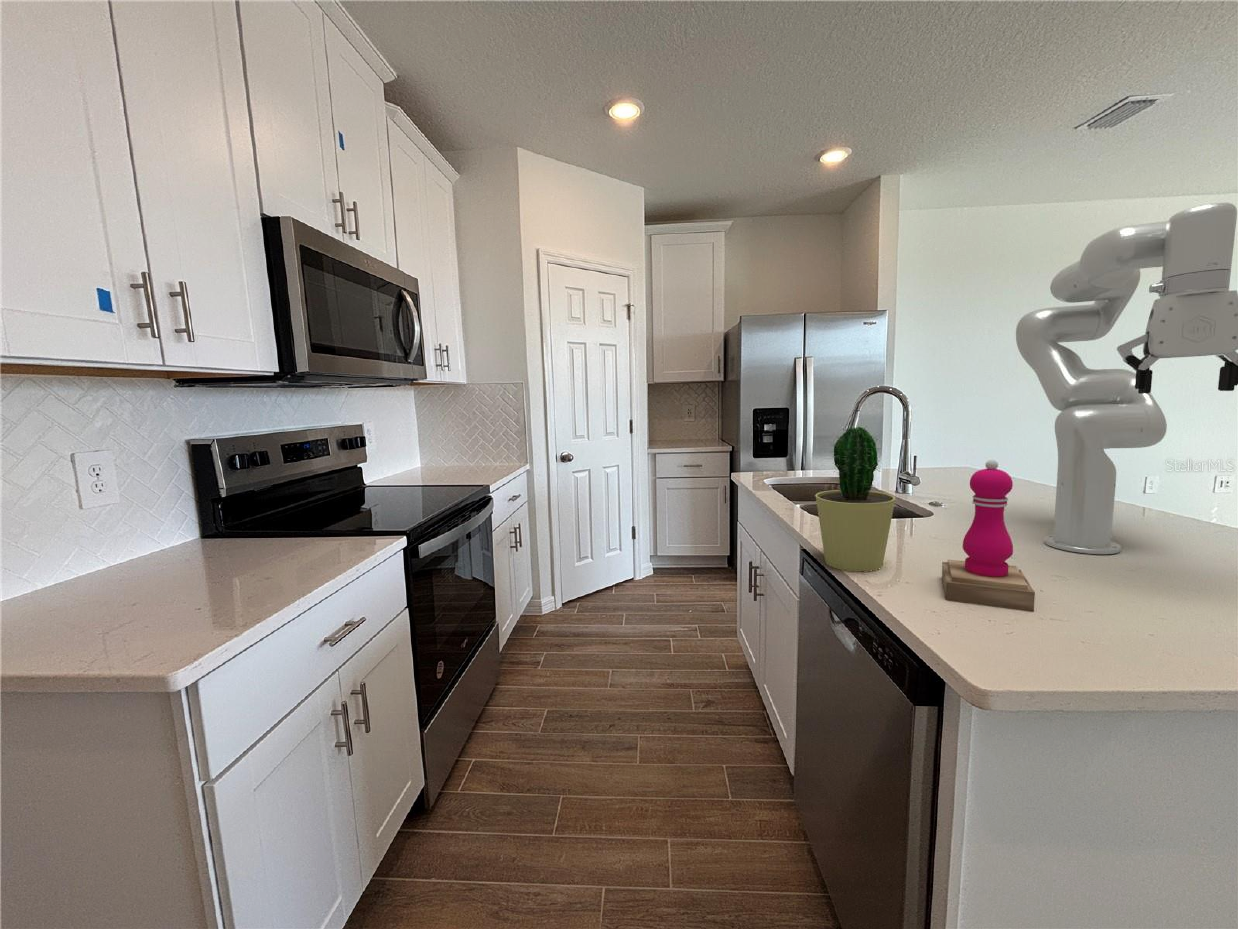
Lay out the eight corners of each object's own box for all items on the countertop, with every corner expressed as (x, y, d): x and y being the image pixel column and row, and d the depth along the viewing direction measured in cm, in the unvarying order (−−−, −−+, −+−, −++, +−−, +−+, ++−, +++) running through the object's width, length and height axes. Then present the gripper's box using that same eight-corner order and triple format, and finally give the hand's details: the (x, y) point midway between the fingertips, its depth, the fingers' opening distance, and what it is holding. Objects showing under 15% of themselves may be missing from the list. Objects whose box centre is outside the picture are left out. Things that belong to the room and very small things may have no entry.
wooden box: (941, 577, 98) (942, 557, 97) (1019, 586, 92) (1020, 565, 92) (946, 599, 88) (946, 577, 87) (1033, 611, 82) (1035, 587, 81)
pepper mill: (996, 581, 85) (1003, 463, 82) (952, 569, 91) (957, 459, 89) (1020, 573, 88) (1027, 459, 85) (976, 562, 94) (981, 456, 92)
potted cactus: (853, 548, 118) (855, 421, 114) (911, 568, 104) (915, 423, 100) (799, 558, 113) (799, 425, 109) (852, 580, 99) (855, 427, 95)
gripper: (1130, 291, 84) (1121, 394, 86) (1289, 274, 75) (1275, 389, 77) (1114, 298, 90) (1107, 394, 92) (1259, 283, 81) (1247, 389, 84)
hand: (1183, 392), depth 85 cm, fingers open, 9 cm apart
